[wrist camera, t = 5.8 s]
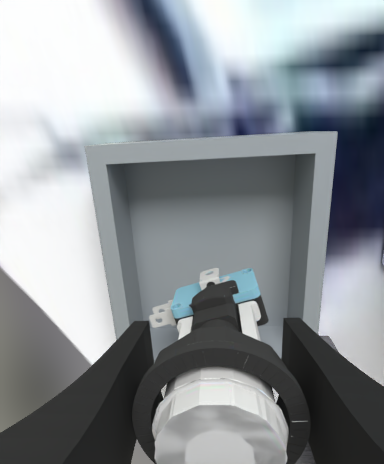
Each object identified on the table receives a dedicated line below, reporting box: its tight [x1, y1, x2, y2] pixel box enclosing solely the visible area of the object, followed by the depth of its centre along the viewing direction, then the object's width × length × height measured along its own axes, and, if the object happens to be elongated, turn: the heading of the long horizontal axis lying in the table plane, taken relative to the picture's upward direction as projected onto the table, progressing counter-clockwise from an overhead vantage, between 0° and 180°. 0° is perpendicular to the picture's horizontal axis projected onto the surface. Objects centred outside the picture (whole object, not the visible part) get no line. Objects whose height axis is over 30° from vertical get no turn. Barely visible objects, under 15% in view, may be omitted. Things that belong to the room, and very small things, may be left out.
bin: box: [85, 131, 337, 363], centre depth 20 cm, size 13×15×4 cm
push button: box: [132, 268, 311, 464], centre depth 13 cm, size 7×5×10 cm
